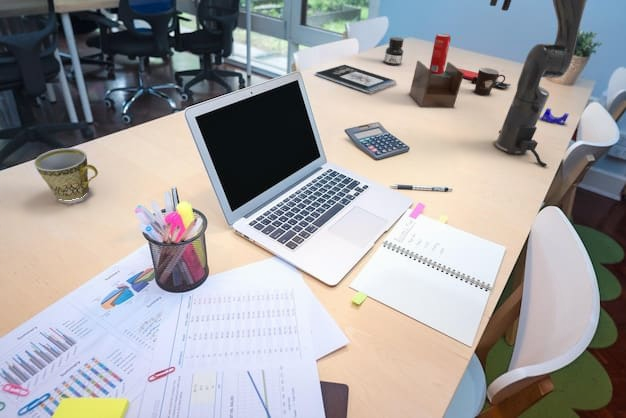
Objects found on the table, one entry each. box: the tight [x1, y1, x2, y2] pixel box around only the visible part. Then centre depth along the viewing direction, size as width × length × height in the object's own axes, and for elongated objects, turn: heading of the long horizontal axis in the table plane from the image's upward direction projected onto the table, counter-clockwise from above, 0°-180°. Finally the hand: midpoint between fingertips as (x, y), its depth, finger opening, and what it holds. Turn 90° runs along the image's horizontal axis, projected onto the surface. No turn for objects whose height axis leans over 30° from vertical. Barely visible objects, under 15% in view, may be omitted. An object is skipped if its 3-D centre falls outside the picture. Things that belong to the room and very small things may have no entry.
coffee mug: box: [473, 67, 506, 97], centre depth 172 cm, size 12×9×10 cm
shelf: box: [409, 60, 464, 109], centre depth 159 cm, size 14×14×14 cm
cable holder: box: [541, 107, 570, 126], centre depth 154 cm, size 8×4×4 cm, turn 52°
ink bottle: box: [383, 36, 404, 66], centre depth 199 cm, size 10×9×12 cm
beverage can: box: [428, 33, 451, 75], centre depth 155 cm, size 6×6×15 cm
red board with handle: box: [457, 67, 511, 89], centre depth 190 cm, size 30×3×15 cm
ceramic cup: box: [33, 147, 99, 205], centre depth 89 cm, size 13×10×10 cm
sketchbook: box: [315, 64, 397, 95], centre depth 176 cm, size 22×30×2 cm
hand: (498, 8), depth 143 cm, fingers open, 8 cm apart
